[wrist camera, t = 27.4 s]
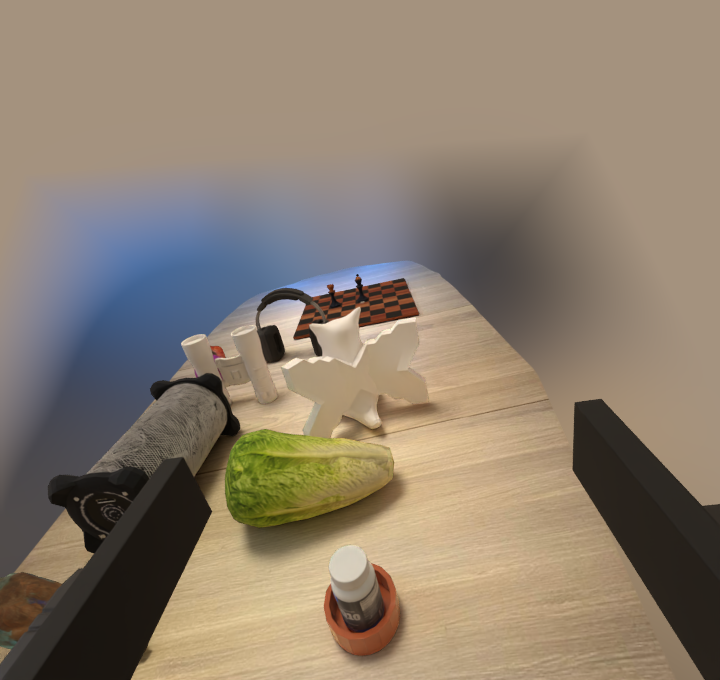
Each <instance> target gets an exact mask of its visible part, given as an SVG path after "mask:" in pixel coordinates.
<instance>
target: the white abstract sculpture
mask: <svg viewBox="0 0 720 680" xmlns="http://www.w3.org/2000/svg"><path fill="white" fill-rule="evenodd" d="M360 311H361V308H360V307H358V308H356V309H355V310H353V311H352V312H351V313H350V314H348V315H347V316H345V317H343V318H339V319H335V320H332V321H330V322H328V323H326V324H314V323H313V324H310V325H309V326H310V329H311V330H312V331H313V333H314V334H315V335H316V337H317V341H318V343H319V345H320V346H321V348H322V356H321V357H312V358H310V359H309V360H307V361H305V360H302V359H299V358H295V359H293V360H291V361H290V362H288V363H287V364H285V365H283V366H282V367H281V369H282V371H283V374H284V377H285V380H286V383H287V386H288V389H289V390H291V391H293V392H295V393H298V394H300V395H302V396H304V397H306V398H308V399H310V400H312V401H314V402H315V404H314V406H313V408H312V410H311V412H310V415H309V417H308V419H307V421H306V424H305V426H304V428H303V433H304V435H308V436H315V437H321V438H330V437H331V434H332V431H333V429H335V428H336V427H337V426H338V425H339V423H340V421H341V418H342V415H344V416H347V417H350V418H353V419H355V420H357V421H359V422H361V423H362V424H364V425H365V426H367V427H369V428H370V429H376V428H378V427H379V426H381V423H382V421H381V419H380V418H379V416H378V413H377V402H378V395H383V394H387V395H388V396H390V397H392V398H394V399H405V400H407V401H408V402H410V403H412V404H418V403H427V402H429V398H428V391H427V385H426V379H425V378H424V377H423V376H421V375H420V374H418V373H417V372H415V371H414V370H412V369H411V368H409V366H410V363H411V361H412V359H413V357H414V354H415V352H416V350H417V347H418V345H419V336H418V330H417V324H416V318H415V317H414V318H408V319H402V320H398V321H397V322H396V323H395V325H394V326H393V327H392V328H391V329H389V330H382V332H381V333H380V334H379V335H378V337H377V338H376V339H371V340H367V341H366V343H365V344H364V345H363V343H362V342H361V340H360V336H359V324H358V322H359V316H360Z"/></svg>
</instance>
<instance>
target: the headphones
mask: <svg viewBox="0 0 720 680" xmlns="http://www.w3.org/2000/svg"><path fill="white" fill-rule="evenodd" d="M282 299H290V300H298V299H299V300H300V301H302V302H303V303H305V304H307V305H309V304H311V305H313V306H314V307H315V308H316V309H317V310H318V311H319V312H320V314H321V316H322V318H323V319H318V320H314V321H313V322H312V323H311V324H313V323H314V324H326V323H328V322H329V320H326V317H325V315H324V313H323V311H322V309H321V308H320V307H319V306H318V305H317V304H316V303H315V302H313V301H312V300H313V298H312V297H311V296H309V295H307V294H305V293H304V292H303V291H300V290H297V289H292V288H282V289H277V290H274V291H272V292H270V293H269V294H268V295H266V296H265V297H264V298H263V299H262V300H261V301H262V303H261V304H260V305H259V307H258V308H257V311H258V312H257V315H256V326H257V333H258V336H259V339H260V342H261V347H262V353H263V356H264V358H265V361H271V362H275V361H278V360H279V359H281V357H282V356H283V355H284V353H285V348H284V345H283V342H282V339H281V336H280V333H279V330H278V328H277V326H275V325H273V326H267V327H263V328H261V327H260V323H259V315H260V312H261V311H262V310H263V309H264V308H265V307H266V306H267V304H271V303H273V302H275V301H277V300H282ZM314 304H315V305H314ZM258 326H259V327H258ZM309 335H310V338H311V342H312V345H313V348H314V352H315V354H316V355H317V356H318V357H320V356H322V348H321V346H320V345H319V343H318V341H317V337H316V335H315V334H314V333H313V331H312V330H311V329H310V326H309Z"/></svg>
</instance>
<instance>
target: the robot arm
mask: <svg viewBox="0 0 720 680" xmlns="http://www.w3.org/2000/svg"><path fill="white" fill-rule="evenodd" d="M573 442H574V443H573V471H574V473H575V474H576V476H577V478H578V479H579V481H580V482H581V484H582V486H583V487H584V489H585V490H586V492H587V494H588V495H589V497H590V498H591V500H592V501H593V503H594V505H595V506H596V508H597V509H598V511H599V513H600V514H601V516H602V517H603V519H604V521H605V522H606V524H607V525H608V527H609V528H610V530H611V532H612V533H613V535H614V536H615V538H616V540H617V541H618V543H619V544H620V546H621V547H622V549H623V551H624V552H625V554H626V555H627V557H628V559H629V560H630V562H631V563H632V565H633V567H634V568H635V570H636V571H637V573H638V575H639V576H640V577H641V579H642V581H643V582H644V584H645V586H646V587H647V589H648V590H649V592H650V594H651V595H652V597H653V598H654V600H655V601H656V603H657V605H658V606H659V608H660V609H661V611H662V613H663V614H664V616H665V617H666V619H667V621H668V622H669V624H670V625H671V627H672V629H673V630H674V632H675V633H676V635H677V637H678V638H679V640H680V641H681V643H682V644H683V646H684V648H685V649H686V651H687V652H688V654H689V655H690V657H691V659H692V660H693V662H694V663H695V665H696V667H697V668H698V670H699V671H700V673H701V675H702V676H703V678H704V679H705V680H720V504H718V505H707V506H702V505H701V504H700V503H699V502H698V501H697V500H696V499H695V498H694V497H693V496H692V495H691V494H690V493H689V491H687V489H686V488H685V487H684V486H683V485H682V484H681V483H680V482H679V481H678V480H677V479H676V478H675V477H674V476H673V474H672V473H671V472H670V471H669V470H668V469H667V468H666V467H665V466H664V465H663V464H662V463H661V462H660V461H659V460H658V459H657V457H655V456H654V454H653V453H652V452H651V451H650V450H649V449H648V448H647V447H646V446H645V445H644V444H643V443H642V442H641V441H640V439H639V438H638V437H637V436H636V435H635V434H634V433H633V432H632V431H631V430H630V429H629V428H628V427H627V426H626V425H625V424H624V422H623V421H622V420H621V419H620V418H619V417H618V416H617V415H616V414H615V413H614V412H613V411H612V410H611V409H610V408H609V407H608V406H607V405H606V404H605V402H604V401H603V400H602V399H596V400H589V401H582V402H575V408H574V440H573ZM211 513H212V510H211V508H210V507H209V505H208V503H207V501H206V499H205V497H204V495H203V493H202V491H201V489H200V488H199V486H198V484H197V482H196V480H195V478H194V476H193V474H192V472H191V470H190V468H189V467H188V465H187V463H186V461H185V459H184V457H178V458H171V459H164V460H163V461H162V462H161V464H160V465H159V466H158V468H157V469H156V471H155V472H154V473H153V475H152V476H151V477H150V479H149V480H148V481H147V483H146V484H145V485H144V487H143V488H142V490H141V491H140V492H139V494H138V495H137V496H136V498H135V499H134V500H133V502H132V503H131V504H130V506H129V507H128V509H127V510H126V511H125V513H124V514H123V515H122V517H121V518H120V519H119V521H118V522H117V524H116V525H115V526H114V528H113V529H112V530H111V532H110V533H109V534H108V536H107V537H106V538H105V540H104V541H103V543H102V544H101V545H100V547H99V548H98V549H97V551H96V552H95V553H94V555H93V556H92V557H91V559H90V560H89V562H88V563H87V564H86V566H85V567H84V568H83V569H78V570H77V571H76V572H75V573H74V574H73V575H72V576H71V577H69V578H68V579H67V580H66V581H65V582H64V583H63V584H62V585H61V586H60V587H59V588H58V589H57V590H56V592H55V593H54V594H53V596H52V597H51V598H50V600H49V601H48V602H47V603H46V605H45V606H44V607H43V609H42V613H41V614H38V615H37V617H36V618H35V619H34V621H33V622H32V623H31V624H30V626H29V627H28V628H29V629H28V631H27V632H24V634H23V635H22V636H21V638H20V639H19V640H18V642H17V643H16V644H15V645H14V647H13V648H12V649H11V651H10V652H9V653H8V655H7V656H6V657H5V659H4V660H3V661H2V663H1V664H0V680H131V678H132V676H133V673H134V671H135V669H136V667H137V665H138V663H139V661H140V659H141V657H142V655H143V653H144V651H145V649H146V647H147V645H148V643H149V641H150V638H151V636H152V634H153V632H154V630H155V628H156V626H157V624H158V622H159V620H160V618H161V616H162V614H163V612H164V610H165V608H166V606H167V603H168V601H169V599H170V597H171V595H172V593H173V591H174V589H175V587H176V585H177V583H178V581H179V579H180V577H181V575H182V573H183V571H184V569H185V566H186V564H187V562H188V560H189V558H190V556H191V554H192V552H193V550H194V548H195V546H196V544H197V542H198V540H199V538H200V536H201V534H202V531H203V529H204V527H205V525H206V523H207V521H208V519H209V517H210V515H211Z"/></svg>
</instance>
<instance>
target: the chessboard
mask: <svg viewBox="0 0 720 680" xmlns="http://www.w3.org/2000/svg"><path fill="white" fill-rule="evenodd" d="M356 276H357V277H356V280H355V282H356V283H357V286H356V287H357V288H354V289H350V290H345V291H340V292H335V290H333V288H334V285H333V284H332V285H331V284H330V285H327V288H328V289H329V290H330V291H329V292H328V293H329V294H326V295H321V296H316V297H312V298H313V300H312V301H313V302H315V303H316V304H317V305H318V306H319V307H320V308H321V309H322V311H323V313H324V315H325V317H326V320H329V322H330V321H332V320H335V319H339V318H343V317H345V316H347V315H348V314H350V313H351V312H352V311H353V310H355V309H356V308H358V307H360V308H361V311H360V316H359V322H358V324H359V326H364V325H369V324H374V323H379V322H384V321H389V320H394V319H399V318H404V317H409V316H414V315H419V313H418V310H417V308H416V305H415V303H414V300H413V298H412V296H411V293H410V291H409V289H408V286H407V284H406V281H405V279H404V278H402V279H398V280H393V281H388V282H383V283H378V284H374V285H369V286H364V287H363V285H362V284H361V280H362V279H361V278H360V277H358V276H359V275H358V274H357V275H356ZM314 305H315V304H314ZM318 319H323V318H322V316H321V314H320V312H319V311H318V310H317V309H316V308H315V307H314V306H313V305H311V304H309V305H307V304H306V306H305V309H304V311H303V314H302V316H301V319H300V322H299V324H298V327H297V329H296V332H295V334H294V337H293V338H294V339H299V338H304V337H309V336H310V335H309V325H310V324H311V323H312V322H313V321H314V320H318Z"/></svg>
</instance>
